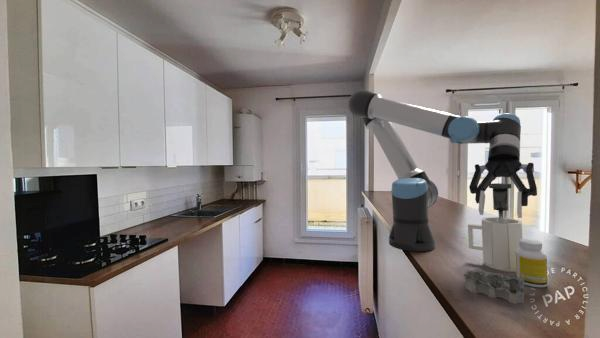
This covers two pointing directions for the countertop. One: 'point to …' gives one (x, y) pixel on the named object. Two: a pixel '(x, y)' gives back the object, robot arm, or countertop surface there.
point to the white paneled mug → (498, 242)
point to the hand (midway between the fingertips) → (499, 213)
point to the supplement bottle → (531, 263)
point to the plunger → (500, 198)
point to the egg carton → (483, 284)
